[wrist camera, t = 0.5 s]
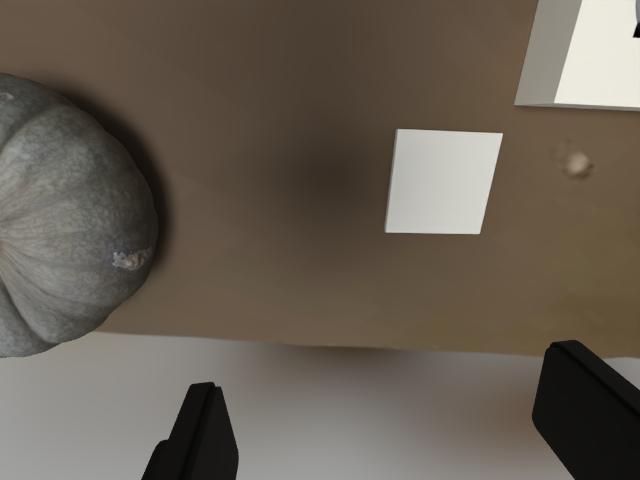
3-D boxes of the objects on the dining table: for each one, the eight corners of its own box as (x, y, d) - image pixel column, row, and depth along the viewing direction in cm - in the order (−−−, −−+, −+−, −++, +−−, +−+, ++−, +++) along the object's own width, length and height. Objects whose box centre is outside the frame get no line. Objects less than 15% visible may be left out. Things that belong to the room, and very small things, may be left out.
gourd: (-126, 240, 34) (-452, 326, 18) (-22, 30, 31) (-292, -90, 15) (115, 331, 43) (43, 444, 27) (212, 173, 40) (196, 193, 24)
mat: (395, 128, 36) (398, 129, 35) (498, 133, 37) (502, 133, 36) (383, 230, 40) (385, 232, 39) (476, 231, 41) (479, 234, 40)
